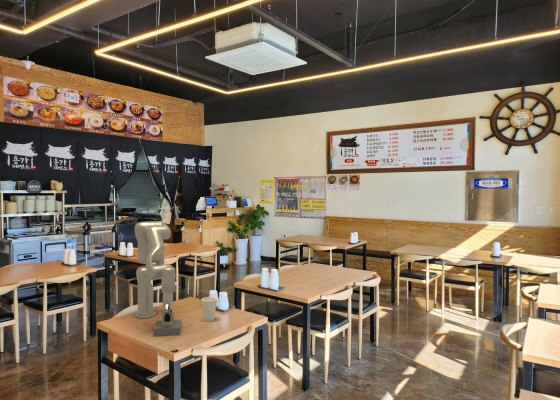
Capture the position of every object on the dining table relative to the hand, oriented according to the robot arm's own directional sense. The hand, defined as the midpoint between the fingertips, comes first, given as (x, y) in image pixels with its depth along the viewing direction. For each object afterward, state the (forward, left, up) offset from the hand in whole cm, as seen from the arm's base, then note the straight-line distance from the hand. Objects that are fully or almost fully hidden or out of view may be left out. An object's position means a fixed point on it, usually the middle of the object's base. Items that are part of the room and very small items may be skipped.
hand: (168, 318), depth 225 cm
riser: (0, 0, -7) cm, 7 cm away
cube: (0, 0, -3) cm, 3 cm away
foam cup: (-17, +23, -7) cm, 29 cm away
